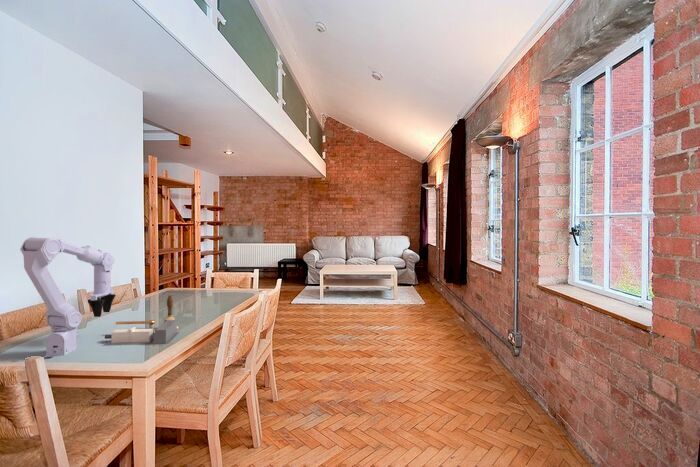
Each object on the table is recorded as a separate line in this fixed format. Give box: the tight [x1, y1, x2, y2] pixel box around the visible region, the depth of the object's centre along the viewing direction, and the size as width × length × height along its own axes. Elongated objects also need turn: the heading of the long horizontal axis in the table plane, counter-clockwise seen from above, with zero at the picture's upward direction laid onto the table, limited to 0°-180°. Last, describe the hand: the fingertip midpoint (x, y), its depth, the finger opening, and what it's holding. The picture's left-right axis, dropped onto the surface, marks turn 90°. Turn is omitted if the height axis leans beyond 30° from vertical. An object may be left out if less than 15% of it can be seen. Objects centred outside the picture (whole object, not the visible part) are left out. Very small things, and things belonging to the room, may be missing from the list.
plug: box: [104, 326, 153, 343], centre depth 149 cm, size 4×17×5 cm, turn 99°
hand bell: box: [163, 294, 179, 330], centre depth 168 cm, size 8×8×16 cm
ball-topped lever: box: [115, 319, 156, 325], centre depth 158 cm, size 15×2×1 cm, turn 100°
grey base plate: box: [102, 319, 180, 347], centre depth 153 cm, size 16×24×6 cm, turn 100°
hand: (102, 314), depth 153 cm, fingers open, 7 cm apart
